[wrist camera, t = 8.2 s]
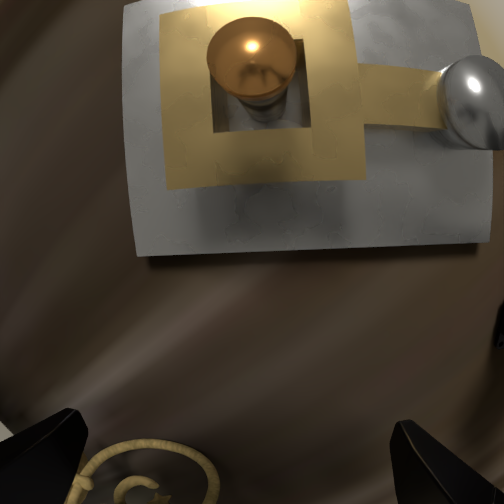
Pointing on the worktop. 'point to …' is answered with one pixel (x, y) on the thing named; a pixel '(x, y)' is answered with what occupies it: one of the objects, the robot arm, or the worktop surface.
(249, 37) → the lever with copper knob
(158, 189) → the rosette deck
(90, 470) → the wall sconce
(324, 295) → the worktop surface
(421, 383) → the worktop surface
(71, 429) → the robot arm
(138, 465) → the worktop surface
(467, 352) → the worktop surface
